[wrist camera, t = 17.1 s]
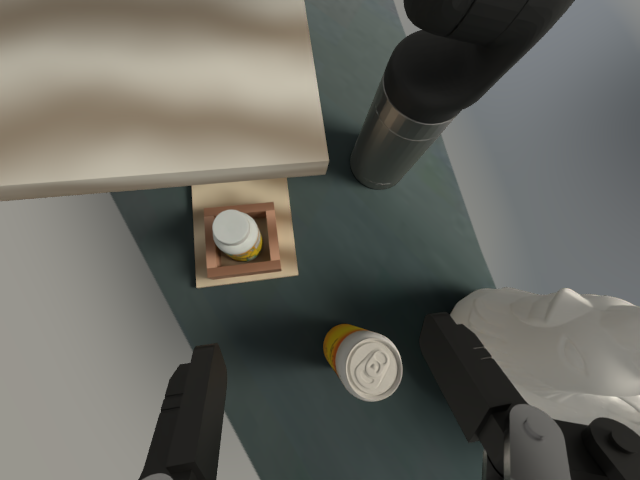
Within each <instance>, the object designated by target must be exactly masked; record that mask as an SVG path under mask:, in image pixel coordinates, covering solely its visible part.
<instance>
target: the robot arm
mask: <svg viewBox="0 0 640 480" xmlns="http://www.w3.org/2000/svg"><path fill="white" fill-rule="evenodd" d="M574 1H575V0H404V8H405V11H406V14H407V16H408V18H409V19H410V21H411V22H412V23H413V24H414V25H415V26H417V27H418V28H420V29H422V30H420V31H417V32H415V33H413V34H411V35H409V36H407V37H406V38H404V39H403V40H402V41H401V42H400V43H399V44H398V45H397V46H396V48H395V49H394V51H393V53H392V55H391V57H390V59H389V62H388V64H387V67H386V69H385V72H384V74H383V77H382V79H381V82H380V84H379V87H378V89H377V92H376V94H375V97H374V99H373V102H372V104H371V107H370V109H369V112H368V114H367V117H366V119H365V121H364V124H363V126H362V129H361V131H360V134H359V136H358V139H357V141H356V143H355V146H354V148H353V151H352V153H351V157H350V166H351V170H352V172H353V174H354V176H355V177H356V178H357V180H358V181H360V182H361V183H362V184H363V185H365V186H367V187H370V188H372V189H387V188H390V187H392V186H394V185H396V184H397V183H398V182H399V181H400V180H401V179H402V177H403V176H404V175H405V174H406V173H407V172H408V171H409V170H410V169H411V167H412V166H413V165H414V164H415V163H416V162H417V161H418V159H419V158H420V157H421V156H422V155H423V154H424V153H425V151H426V150H427V149H428V148H429V147H430V146H431V145H432V143H433V142H434V141H435V140H436V139H437V138H438V137H439V135H440V134H441V133H442V132H443V131H444V130H445V128H446V127H447V126H448V125H449V124H450V123H451V121H452V120H453V119H454V118H455V117H456V116H457V115H458V114H459V113H460V111H461V110H462V109H465V108H467V107H469V106H471V105H472V104H474V103H475V102H477V101H478V100H479V99H480V98H481V97H482V96H483V95H484V94H485V93H486V92H487V91H488V90H489V89H490V88H491V87H492V86H493V85H494V84H495V83H496V82H497V81H498V80H499V79H500V78H501V77H502V76H503V75H504V74H505V73H506V72H507V71H508V70H509V69H510V68H511V67H513V65H515V64H516V63H517V62H518V61H519V60H520V59H521V58H522V57H523V56H524V55H525V54H526V53H527V52H528V51H529V50H530V49H531V48H532V47H533V46H534V45H535V44H536V43H537V42H538V41H539V40H540V39H541V38H542V37H543V36H544V35H545V34H546V33H547V32H548V31H549V30H550V29H551V28H552V26H553V25H554V24H555V23H556V22H557V21H558V20H559V18H560V17H561V16H562V15H563V14H564V13H565V12H566V11H567V9H568V8H569V7H570V6H571V5H572V3H573V2H574ZM419 345H420V349H421V352H422V354H423V356H424V358H425V360H426V362H427V364H428V366H429V368H430V370H431V372H432V374H433V376H434V378H435V379H436V381H437V383H438V385H439V387H440V389H441V391H442V393H443V395H444V397H445V399H446V401H447V402H448V404H449V406H450V408H451V410H452V412H453V414H454V416H455V418H456V420H457V422H458V424H459V425H460V427H461V429H462V431H463V433H464V435H465V437H466V439H467V441H468V443H470V442H475V441H480V442H481V444H482V445H483V447H484V451H483V463H482V480H640V436H639V435H638V434H637V433H636V432H634V431H633V430H632V429H630V428H629V427H627V426H626V425H624V424H622V423H620V422H618V421H616V420H613V419H610V418H604V417H599V418H596V419H594V420H593V421H592V422H591V423H590V424H589V425H584V424H578V423H572V422H567V421H561V420H556V419H552V418H551V417H550V416H549V415H548V414H546V413H545V412H544V411H542V410H540V409H539V408H536V407H534V406H531V405H529V404H528V403H527V402H526V401H525V400H524V399H523V397H522V396H521V395H520V393H519V392H518V391H517V389H516V388H515V387H514V385H513V384H512V383H511V381H510V380H509V379H508V377H507V376H506V375H505V373H504V372H503V371H502V369H501V368H500V367H499V365H498V364H497V363H496V361H495V360H494V359H492V356H491V355H490V353H489V352H488V351H487V349H486V348H484V345H483V344H482V342H481V341H480V340H479V338H478V337H477V336H476V334H475V333H473V332H472V331H471V330H470V329H468V328H467V327H466V326H464V325H463V324H456V323H455V321H454V320H453V319H452V317H451V316H450V315H449V314H448V313H447V312H439V313H432V314H427V315H426V316H425V319H424V323H423V326H422V330H421V334H420V338H419ZM226 389H227V369H226V365H225V362H224V359H223V356H222V353H221V350H220V347H219V345H218V343H215V344H208V345H201V346H196V347H195V348H194V351H193V354H192V359H191V363H188V364H180V365H179V367H178V368H177V370H176V371H175V372H174V374H173V375H172V377H171V379H170V380H169V384H168V387H167V390H166V394H165V399H164V401H163V404H162V407H161V413H160V415H159V418H158V421H157V425H156V428H155V432H154V435H153V438H152V442H151V445H150V449H149V453H148V455H147V459H146V462H145V466H144V469H143V471H142V474H141V476H140V478H139V479H138V480H216V476H217V468H218V459H219V450H220V441H221V433H222V424H223V415H224V406H225V398H226Z"/></svg>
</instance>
